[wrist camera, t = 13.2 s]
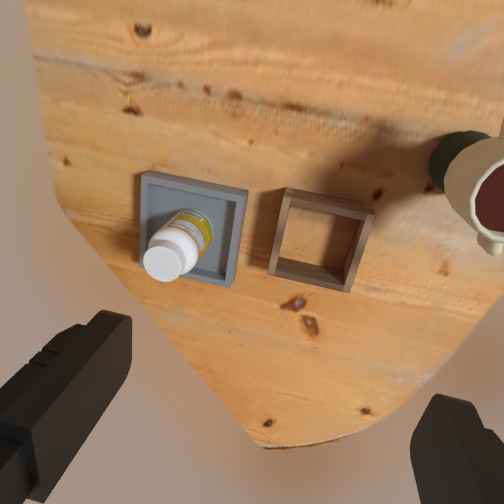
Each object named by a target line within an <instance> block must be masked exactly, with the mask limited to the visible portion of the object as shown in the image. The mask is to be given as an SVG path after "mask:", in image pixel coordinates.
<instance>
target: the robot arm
mask: <svg viewBox="0 0 504 504" xmlns="http://www.w3.org/2000/svg"><path fill="white" fill-rule="evenodd" d="M131 361H132V319H131V317H130V316H127V315H123V314H119V313H115V312H111V311H107V310H101V311H100V312H98V313H97V314H96V315H95V316H94V317H93V318H92V319H91V321H90V322H89V323H88V324H87V325H86V326H85V325H81V324H76V325H74V326H72V327H70V328H68V329H66V330H64V331H62V332H60V333H58V334H57V335H56V336H55V337H54V338H53V339H51V341H49V342H48V343H47V344H46V345H45V346H44V347H43V348H42V351H41V352H38V353H37V354H36V355H35V356H34V357H33V358H32V359H31V360H29V363H28V364H25V365H24V366H23V367H22V368H21V369H20V370H19V371H18V372H17V373H16V374H15V375H14V376H13V377H12V378H11V379H10V380H8V381H7V382H6V383H5V384H4V385H3V386H2V387H1V388H0V504H23V502H24V501H25V499H26V498H27V499H30V500H33V501H37V502H40V503H44V502H45V501H46V499H47V498H48V496H49V495H50V493H51V492H52V490H53V489H54V487H55V486H56V484H57V483H58V481H59V480H60V478H61V477H62V475H63V473H64V472H65V470H66V469H67V467H68V466H69V464H70V462H71V461H72V460H73V458H74V457H75V455H76V454H77V452H78V450H79V449H80V447H81V446H82V444H83V443H84V442H85V440H86V438H87V437H88V435H89V434H90V433H91V431H92V430H93V428H94V427H95V425H96V423H97V422H98V421H99V419H100V417H101V416H102V414H103V413H104V411H105V410H106V408H107V407H108V405H109V404H110V402H111V401H112V399H113V398H114V396H115V395H116V393H117V392H118V390H119V389H120V387H121V386H122V384H123V383H124V381H125V379H126V377H127V375H128V372H129V369H130V366H131ZM410 457H411V462H412V467H413V471H414V476H415V480H416V484H417V489H418V493H419V497H420V502H421V504H504V443H503V442H502V441H501V440H500V438H499V437H498V436H497V435H496V434H495V433H494V431H493V430H491V429H486V428H484V426H483V424H482V421H481V419H480V417H479V415H478V413H477V411H476V408H475V407H474V405H473V404H472V403H471V402H469V401H466V400H462V399H458V398H453V397H450V396H445V395H442V394H435V395H434V396H433V397H432V399H431V400H430V402H429V404H428V406H427V408H426V410H425V412H424V413H423V416H422V417H421V419H420V421H419V423H418V425H417V427H416V429H415V430H414V432H413V435H412V438H411V443H410Z"/></svg>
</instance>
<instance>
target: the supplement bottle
mask: <svg viewBox="0 0 504 504" xmlns="http://www.w3.org/2000/svg"><path fill="white" fill-rule="evenodd" d="M212 238H213V227H212V224H211V222H210V220H209V219H208V218H207V216H205V215H204V214H203V213H201V212H200V211H197V210H194V209H185V210H182V211H180V212H178V213H177V214H175V215H174V216H173V217H172V218H171V219H170V220H169V221H168V222H167V223H166V224H165V225H164V226H162V227H161V228H160V229H159V230H158V231H157V232H156V233H155V234H154V235H153V236H152V238H151V239H150V242H149V245H148V250H147V251H146V252H145V254H144V257H143V264H144V267H145V270H146V271H147V273H148V274H149V275H150V276H151V277H153V278H154V279H156V280H159V281H162V282H169V281H172V280H174V279H176V278H177V277H178V276H179V275H182V274H185V273H187V272H189V271H190V270H191V269H192V268H193V267H194V266H195V264H196V263H197V261H198V260H199V259H200V257H201V256H202V254H203V253H204V251H205V250H206V248H207V247H208V245H209V244H210V242H211V240H212Z"/></svg>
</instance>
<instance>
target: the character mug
mask: <svg viewBox="0 0 504 504" xmlns="http://www.w3.org/2000/svg"><path fill="white" fill-rule="evenodd" d="M429 172H430V174H431V177H432V180H433V182H434V184H435V185H437V186H438V187H439V188H440V189H442V190H443V191H444V192H445V195H446V197H447V199H448V201H449V202H450V204H451V206H452V208H453V209H454V210H455V211H456V212H457V213H458V214H459V215H460V216H461V217H462V218H463V219H464V220H465V221H466V222H467V223H468V224H469V225H470V226H471V227H472V228H473V229H474V230H475V231H477V232H478V235H477V241H478V243H479V245H480V246H481V247H482V248H483V249H484V250H485V251H486V252H487V253H488V254H490V255H492V256H497V255H499V254H500V253H501V251H502V247H503V244H504V119H503V122H502V126H501V130H500V135H499V136H498V137H493V138H491V137H490V136H488V135H487V134H485V133H481V132H476V131H466V132H462V133H458V134H454V135H452V136H451V137H449V138H448V139H446V140H445V141H443V142H442V143H441V144H440V145H439V146H438V148H437V149H436V150H435V152H434V153H433V155H432V156H431V161H430V168H429Z"/></svg>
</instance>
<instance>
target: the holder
mask: <svg viewBox="0 0 504 504" xmlns="http://www.w3.org/2000/svg"><path fill="white" fill-rule="evenodd" d="M290 205H293V206H297V207H302V208H307V209H312V210H316V211H321V212H326V213H331V214H335V215H340V216H345V217H350V218H354V219H359V222H358V225H357V228H356V231H355V234H354V238H353V241H352V244H351V247H350V250H349V254H348V257H347V260H346V263H345V266H344V270H343V271H339V270H335V269H330V268H326V267H321V266H317V265H312V264H308V263H303V262H299V261H295V260H290V259H286V258H281V257H279V253H280V248H281V244H282V239H283V234H284V230H285V225H286V220H287V216H288V211H289V207H290ZM374 218H375V213H374V210H373V207H372V205H370V204H365V203H360V202H356V201H351V200H346V199H341V198H336V197H331V196H326V195H322V194H317V193H312V192H307V191H302V190H297V189H293V188H288V187H286V190H285V193H284V196H283V200H282V205H281V210H280V215H279V220H278V225H277V229H276V234H275V239H274V244H273V249H272V254H271V259H270V263H269V268H268V273H267V275H272V276H276V277H280V278H285V279H289V280H294V281H298V282H302V283H307V284H311V285H315V286H320V287H324V288H328V289H333V290H337V291H342V292H346V293H350V290H351V287H352V284H353V281H354V278H355V275H356V272H357V269H358V266H359V263H360V260H361V257H362V254H363V251H364V248H365V245H366V242H367V239H368V236H369V233H370V230H371V227H372V224H373V221H374Z"/></svg>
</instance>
